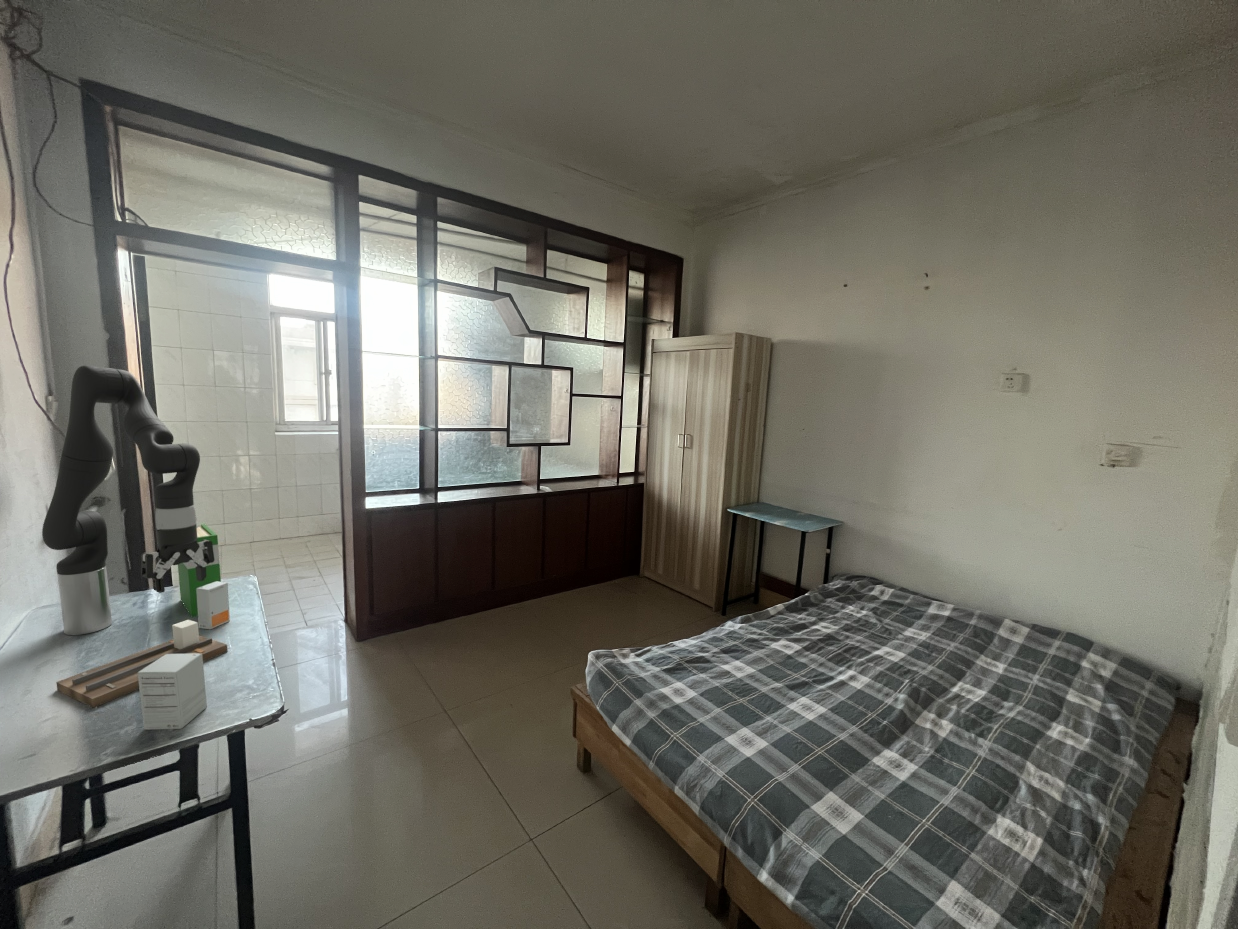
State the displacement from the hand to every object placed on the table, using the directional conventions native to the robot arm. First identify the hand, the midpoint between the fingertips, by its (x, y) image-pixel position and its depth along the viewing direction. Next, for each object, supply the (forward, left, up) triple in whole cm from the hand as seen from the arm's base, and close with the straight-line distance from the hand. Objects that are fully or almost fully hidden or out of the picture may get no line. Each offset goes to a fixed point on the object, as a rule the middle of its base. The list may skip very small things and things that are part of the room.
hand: (181, 586), depth 125 cm
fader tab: (0, 0, -16) cm, 16 cm away
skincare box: (-12, +13, -19) cm, 26 cm away
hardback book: (-30, +20, -19) cm, 41 cm away
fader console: (0, -8, -18) cm, 20 cm away
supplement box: (+27, -16, -19) cm, 36 cm away
